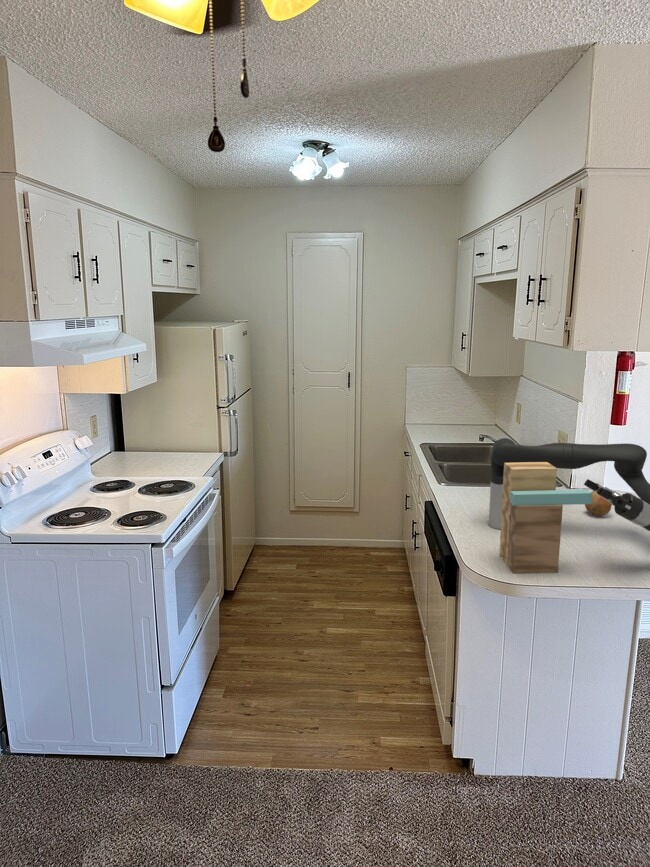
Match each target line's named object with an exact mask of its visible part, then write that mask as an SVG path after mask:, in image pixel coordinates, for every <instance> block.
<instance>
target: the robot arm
mask: <svg viewBox="0 0 650 867" xmlns="http://www.w3.org/2000/svg"><path fill="white" fill-rule="evenodd" d="M647 456H648V452H647V450H646V449H645V448H644V447H642V446H641V445H639V444H635V443H609V444H608V443H607V444H606V443H605V444H604V443H603V444H593V443H592V444H587V443H586V444H585V443H583V444H582V443H572V442H571V443H570V442H568V443H567V442H553V443H547V444H546V443H545V444H539V445H524V444H516V443H515V441H513V440H512V439H510V438H506V437H502V438H499V439H497V440H496V441H495V442H494V443H493V445H492V448H491V459H490V488H489V507H488V509H489V510H488V512H489V513H488V526H489V527H491V528H494V529H496V530H497V529H498V530H501V516H502V496H503V477H504V463H518V462H548V463H550V464H551V465H553V466H554V467H556V468H557V469H561V470H562V469H565V470H577V469H582V468H585V467H588V466H591V465H594V464H596V463H601V462H613V467H614V470H615V472H616V473H617V475H619V477H620V478H621V479H622V480H623V481H624V482H625V483H626V485H628V486H629V488H631V490H632V491H633V492H634V493H635V494H636V495H634V494H632V493H630V492H626V493H625V492H624V493H623V494H620V493H619V492H617V491H616V490H615V491H614V490H612V489H610V488H608V486H607V487H606V486H605V487H604V486H602V485H601V484H599V482H598V483H596V482H595V481H593V480H591V479H589V478H587V479H586V480H585V481H584V484H583V486H585V487H587V488H588V489H590V490H592V491H594V492H597V494H599V496H600V497H602V498H604V499H605V500H607V502H609V503H611V504H612V507H613V508H614V512H615V514H616V515H618V516H620V517H621V518H623V519H624V520H627V521H628V522H631V523H632V524H634V525H636V526H639V527H641V528H643V529H645V530H647V531H649V532H650V483H649V481H647V479H646V477H645V475H644V472H643V469H644V466H645V462H646V460H647V458H648V457H647ZM637 496H638V497H637Z"/></svg>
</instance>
